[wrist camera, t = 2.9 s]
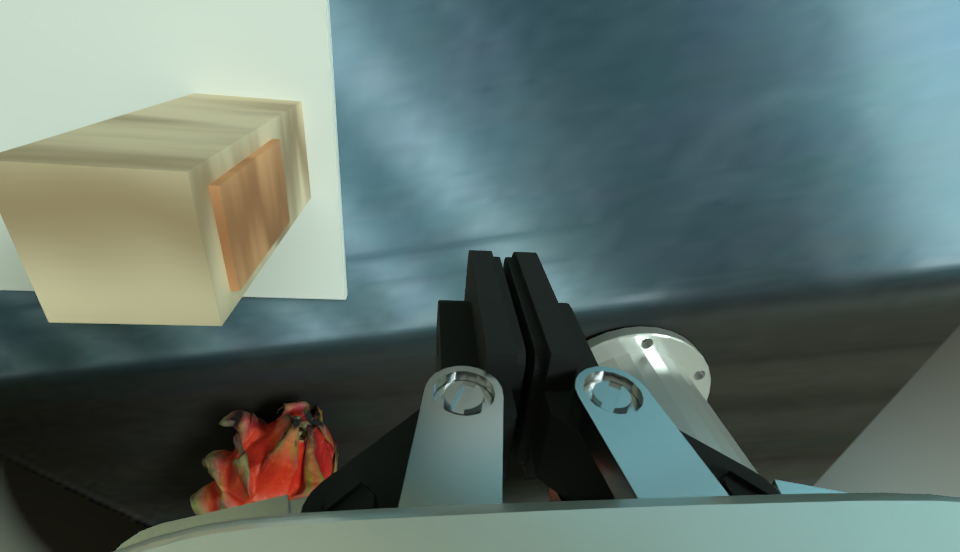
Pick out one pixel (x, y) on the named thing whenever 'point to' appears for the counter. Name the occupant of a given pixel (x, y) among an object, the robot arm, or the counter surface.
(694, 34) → the counter surface
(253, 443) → the dragon fruit
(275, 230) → the wood block
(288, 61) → the mat
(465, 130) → the counter surface
